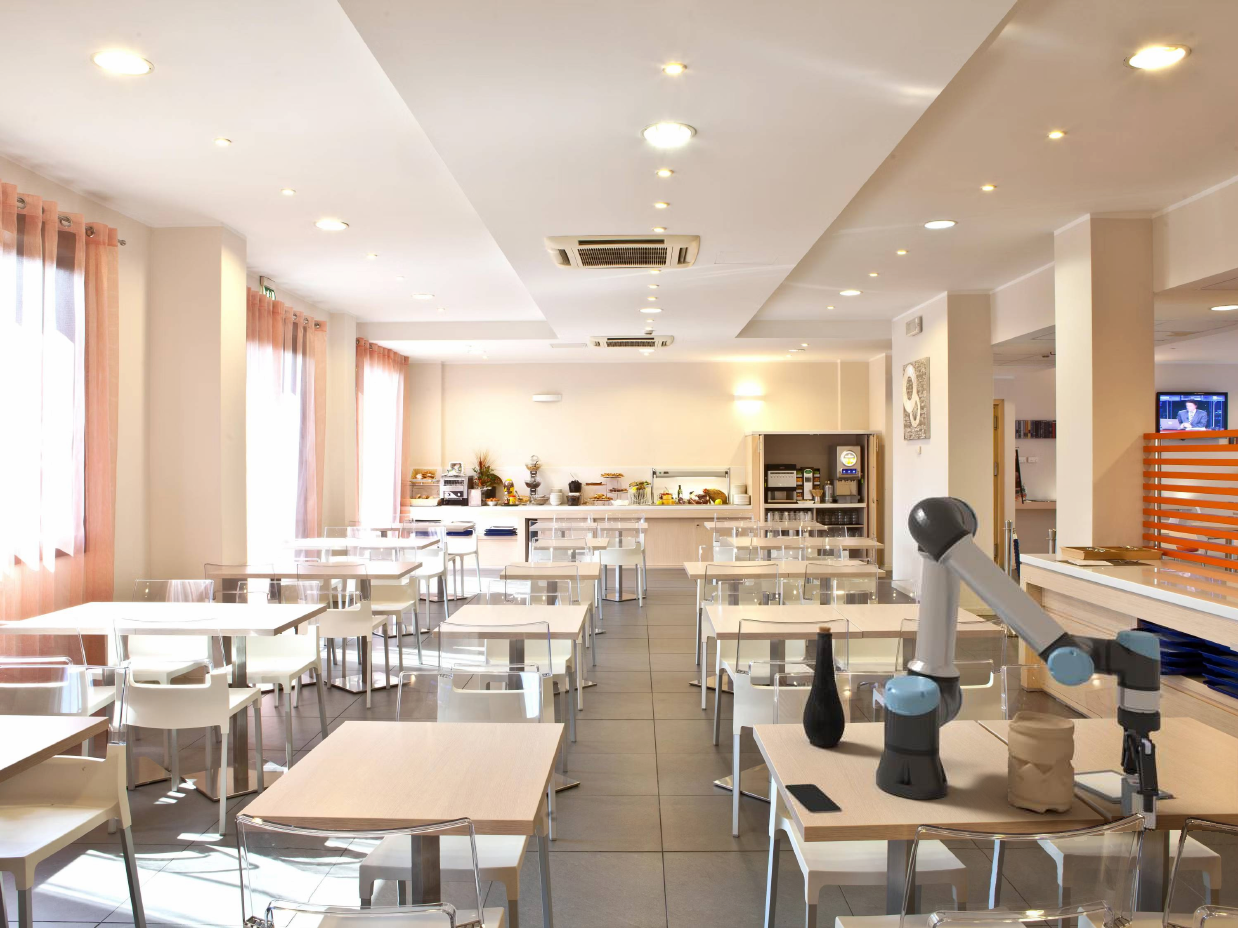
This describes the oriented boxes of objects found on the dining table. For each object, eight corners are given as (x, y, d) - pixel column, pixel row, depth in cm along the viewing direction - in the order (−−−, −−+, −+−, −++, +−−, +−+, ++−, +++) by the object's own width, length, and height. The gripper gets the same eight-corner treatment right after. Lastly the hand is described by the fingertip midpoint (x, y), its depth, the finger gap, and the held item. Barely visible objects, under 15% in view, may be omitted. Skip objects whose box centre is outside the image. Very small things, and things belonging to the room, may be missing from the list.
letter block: (1156, 824, 165) (1156, 787, 165) (1127, 820, 166) (1127, 784, 167) (1148, 814, 170) (1149, 778, 170) (1121, 810, 171) (1121, 775, 171)
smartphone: (814, 783, 184) (842, 809, 169) (814, 786, 184) (842, 812, 169) (783, 784, 182) (809, 811, 168) (782, 787, 182) (809, 814, 168)
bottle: (850, 741, 215) (851, 626, 215) (837, 752, 206) (838, 632, 206) (810, 734, 220) (812, 622, 221) (796, 744, 211) (798, 628, 212)
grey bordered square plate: (1113, 803, 175) (1113, 800, 175) (1055, 777, 191) (1055, 774, 191) (1173, 797, 179) (1173, 794, 179) (1111, 771, 195) (1111, 769, 195)
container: (1010, 811, 170) (1010, 723, 171) (1005, 790, 182) (1005, 708, 182) (1079, 820, 166) (1079, 731, 166) (1069, 798, 178) (1069, 715, 178)
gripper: (1177, 725, 156) (1178, 842, 156) (1144, 696, 178) (1144, 798, 178) (1132, 721, 159) (1132, 836, 158) (1104, 692, 181) (1105, 793, 180)
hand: (1139, 816), depth 168 cm, fingers open, 11 cm apart
